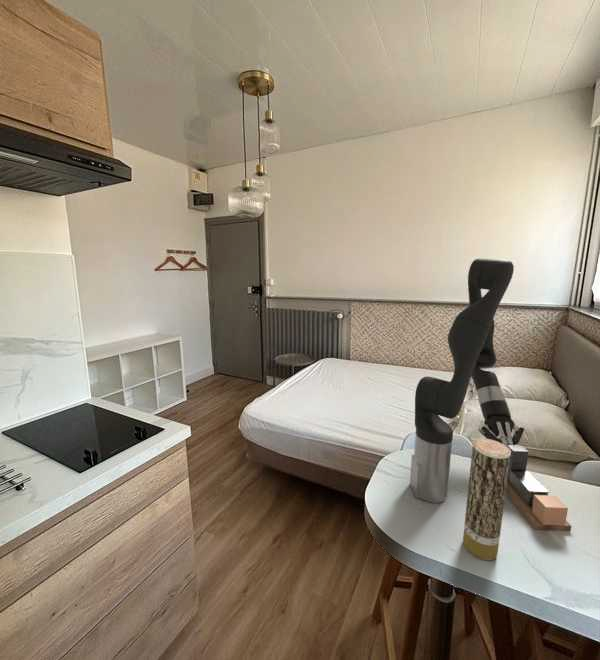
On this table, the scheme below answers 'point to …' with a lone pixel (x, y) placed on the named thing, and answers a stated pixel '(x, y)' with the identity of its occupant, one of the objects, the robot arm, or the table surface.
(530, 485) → the outer sleeve
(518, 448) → the brushed grey metal block
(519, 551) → the table surface
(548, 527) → the guide board
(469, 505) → the bark covered log
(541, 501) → the socket
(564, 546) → the table surface
